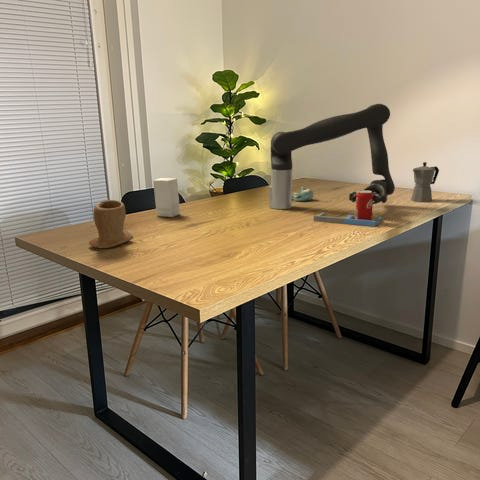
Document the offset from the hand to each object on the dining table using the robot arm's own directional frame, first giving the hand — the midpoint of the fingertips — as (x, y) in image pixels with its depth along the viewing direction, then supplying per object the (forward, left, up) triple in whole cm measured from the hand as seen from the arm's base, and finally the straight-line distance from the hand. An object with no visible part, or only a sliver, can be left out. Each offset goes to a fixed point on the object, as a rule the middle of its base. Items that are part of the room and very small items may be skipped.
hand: (364, 200), depth 181 cm
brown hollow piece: (-67, -66, -9) cm, 95 cm away
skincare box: (-77, -22, -9) cm, 81 cm away
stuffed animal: (-38, +32, -9) cm, 50 cm away
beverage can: (0, 0, -9) cm, 9 cm away
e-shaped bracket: (-6, 0, -8) cm, 10 cm away
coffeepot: (+16, +54, -9) cm, 57 cm away
